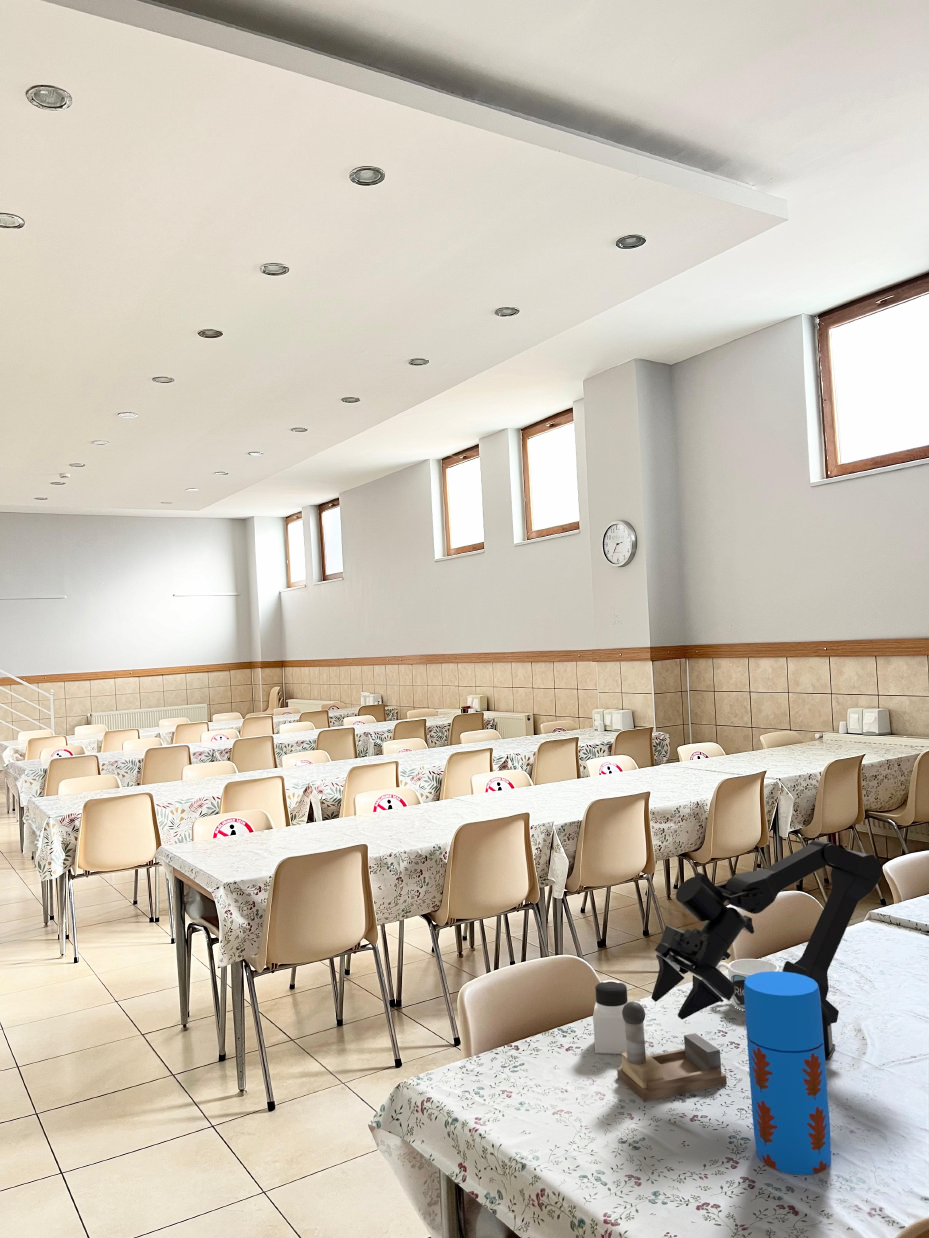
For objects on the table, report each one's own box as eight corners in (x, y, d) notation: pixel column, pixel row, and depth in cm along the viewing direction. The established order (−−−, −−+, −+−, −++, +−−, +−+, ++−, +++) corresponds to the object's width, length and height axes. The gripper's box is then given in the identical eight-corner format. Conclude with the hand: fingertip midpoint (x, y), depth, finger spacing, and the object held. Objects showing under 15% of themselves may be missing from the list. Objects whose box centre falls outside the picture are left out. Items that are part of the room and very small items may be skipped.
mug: (787, 1000, 193) (784, 962, 194) (775, 1017, 184) (772, 977, 185) (724, 991, 201) (722, 954, 201) (710, 1007, 192) (707, 969, 192)
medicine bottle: (633, 1055, 171) (628, 990, 171) (595, 1053, 172) (591, 989, 173) (633, 1039, 178) (629, 977, 178) (597, 1038, 179) (593, 976, 180)
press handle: (642, 1066, 162) (637, 992, 163) (663, 1084, 155) (658, 1006, 156) (617, 1071, 161) (612, 996, 161) (637, 1089, 153) (632, 1011, 154)
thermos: (795, 1183, 126) (782, 1001, 128) (739, 1149, 136) (727, 980, 137) (849, 1160, 131) (835, 985, 133) (791, 1129, 141) (779, 966, 142)
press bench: (695, 1061, 166) (693, 1030, 167) (726, 1084, 157) (724, 1051, 157) (617, 1077, 162) (615, 1045, 162) (644, 1101, 152) (642, 1068, 153)
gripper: (660, 897, 172) (611, 964, 168) (715, 921, 154) (661, 998, 150) (699, 934, 173) (652, 1001, 169) (758, 962, 156) (706, 1038, 152)
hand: (666, 1008), depth 160 cm, fingers open, 9 cm apart
